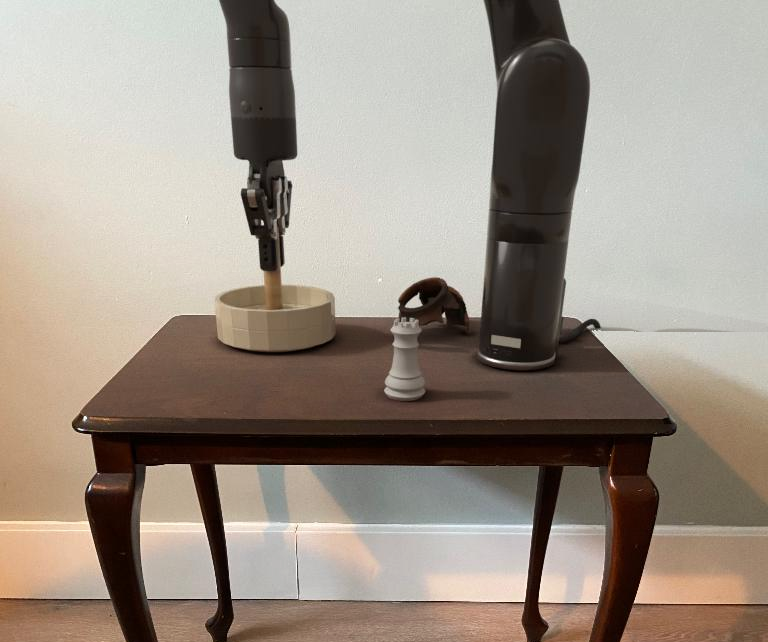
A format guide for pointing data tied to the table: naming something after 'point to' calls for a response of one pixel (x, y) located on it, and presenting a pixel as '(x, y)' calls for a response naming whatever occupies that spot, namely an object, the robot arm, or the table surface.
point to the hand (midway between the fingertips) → (272, 267)
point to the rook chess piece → (405, 363)
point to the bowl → (275, 319)
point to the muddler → (274, 286)
